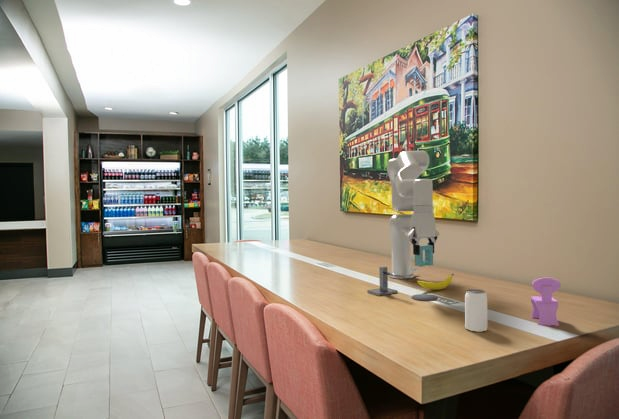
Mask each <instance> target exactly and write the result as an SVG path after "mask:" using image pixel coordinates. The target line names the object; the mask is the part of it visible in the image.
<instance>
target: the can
mask: <svg viewBox="0 0 619 419" xmlns="http://www.w3.org/2000/svg"><path fill="white" fill-rule="evenodd" d="M486 292H487V291H486V290H483V289H479V288H478V289H477V288H472V289H471V288H468V289H466V293H465V294H464V324H465V325H464V328H465V329H466V330H467V329H468V330H467V331H469V330H470V332H472V331H476V332H475V333H484V332H483V331H485V332H487V330H488V296H487V294H486Z"/></svg>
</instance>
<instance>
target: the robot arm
mask: <svg viewBox="0 0 619 419" xmlns="http://www.w3.org/2000/svg"><path fill="white" fill-rule="evenodd" d="M429 165H430V155H429V153H427V152H426V151H425V150H404V151H402V152H400V153H399V154H398V155H397V157H396V158H391V159H389V160H388V161H387V164H386V169H387V170H386V172H387V176H388V178H389V181H390V184H391V207H392V210H393V211H395V212H400V214H394V215H391V216H390V218H389V222H388V223H389V224H388V225H389V230H390V238H391V239H390V240H391V246H390V247H391V273H393V274H398V275H402V276H405V278H404V279H402V278H398V277H393V276H389V275H388V277H389V278H392V279H399V280H401V279H402V280H406V279H413V278H414V277H415V274H414V272H419V268H418V267H412V257H411V256H412V254H413V255H414V256H415V255H420V241H421V239H427V241H428V243H427V245H433V254H435V244H436V242H437V239H438V237H439V236H440V232H439V231H438V230H437V227H436V226H437V225H436V217H435V213H434V210H435V207H434V202H433V201H434V199H433V197H434V195H433V194H434V192H433V190H434V189H433V180H431V178H419V177H420V176H421V175H422V174H423V173H424V172H425V171H426V170H427V169H428V168H429ZM401 212H403V213H404V212H413V213H411V214H410V213H408V214H407V213H404V214H403V213H401ZM406 234H407V235H406ZM411 245H412V247H411ZM411 248H412V251H413V253H412V254H411V252H412V251H411Z"/></svg>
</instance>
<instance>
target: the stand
mask: <svg viewBox="0 0 619 419" xmlns="http://www.w3.org/2000/svg"><path fill="white" fill-rule="evenodd" d="M389 276H393V277H398V278H402V280H405V279H404V278H405V276H402V275H398V274H393V273H392V272H388V266H384V265H383V266H379V288H372V289H367V291H366V292H367V293H368V294H372V295H374V296H378V297H380V296H381V297H382V296H387V295H393V294H398V291H399V290H397V289H393V288H390V287H389V285H388V284H389V282H388V280H389V279H388V277H389ZM398 278H397V279H398Z"/></svg>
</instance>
